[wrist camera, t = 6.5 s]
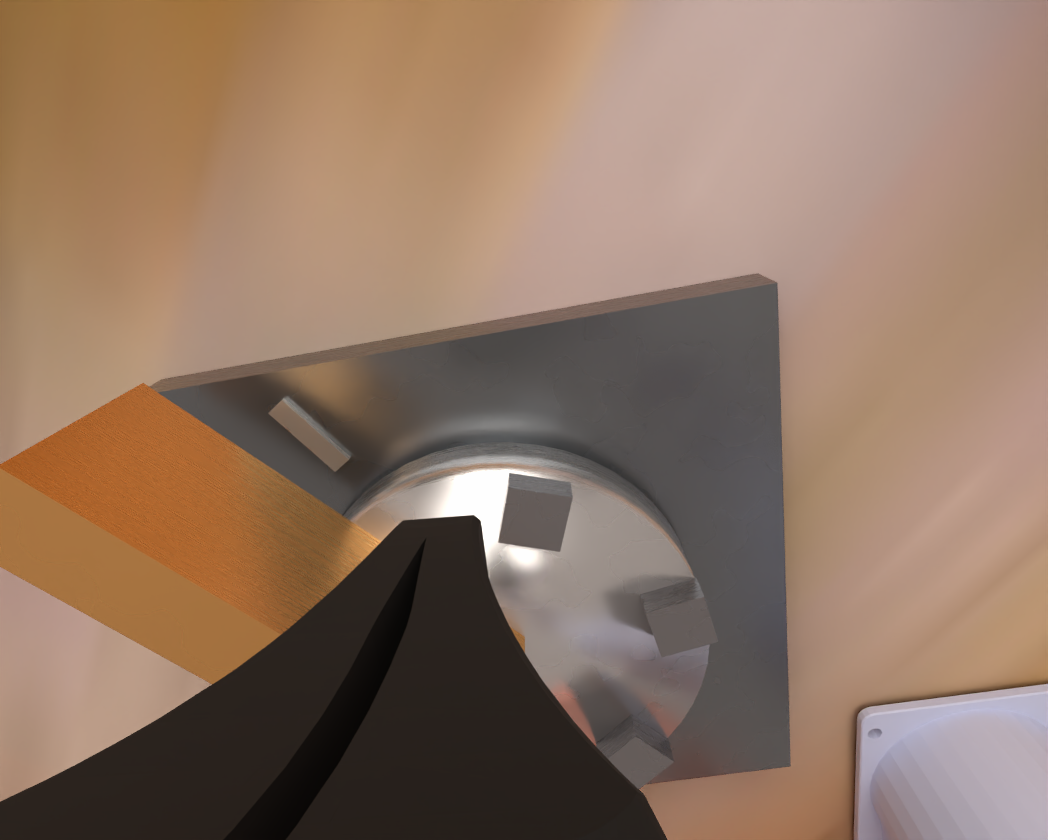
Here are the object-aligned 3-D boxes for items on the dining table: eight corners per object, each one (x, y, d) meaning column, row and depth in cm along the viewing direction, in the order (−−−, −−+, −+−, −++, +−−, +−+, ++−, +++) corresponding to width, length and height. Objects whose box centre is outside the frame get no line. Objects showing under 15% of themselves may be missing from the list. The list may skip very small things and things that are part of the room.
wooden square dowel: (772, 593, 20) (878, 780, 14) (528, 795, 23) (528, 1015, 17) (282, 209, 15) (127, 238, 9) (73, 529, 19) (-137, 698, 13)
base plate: (775, 732, 25) (792, 771, 23) (333, 788, 26) (320, 829, 24) (758, 273, 18) (780, 284, 16) (161, 379, 19) (128, 398, 17)
